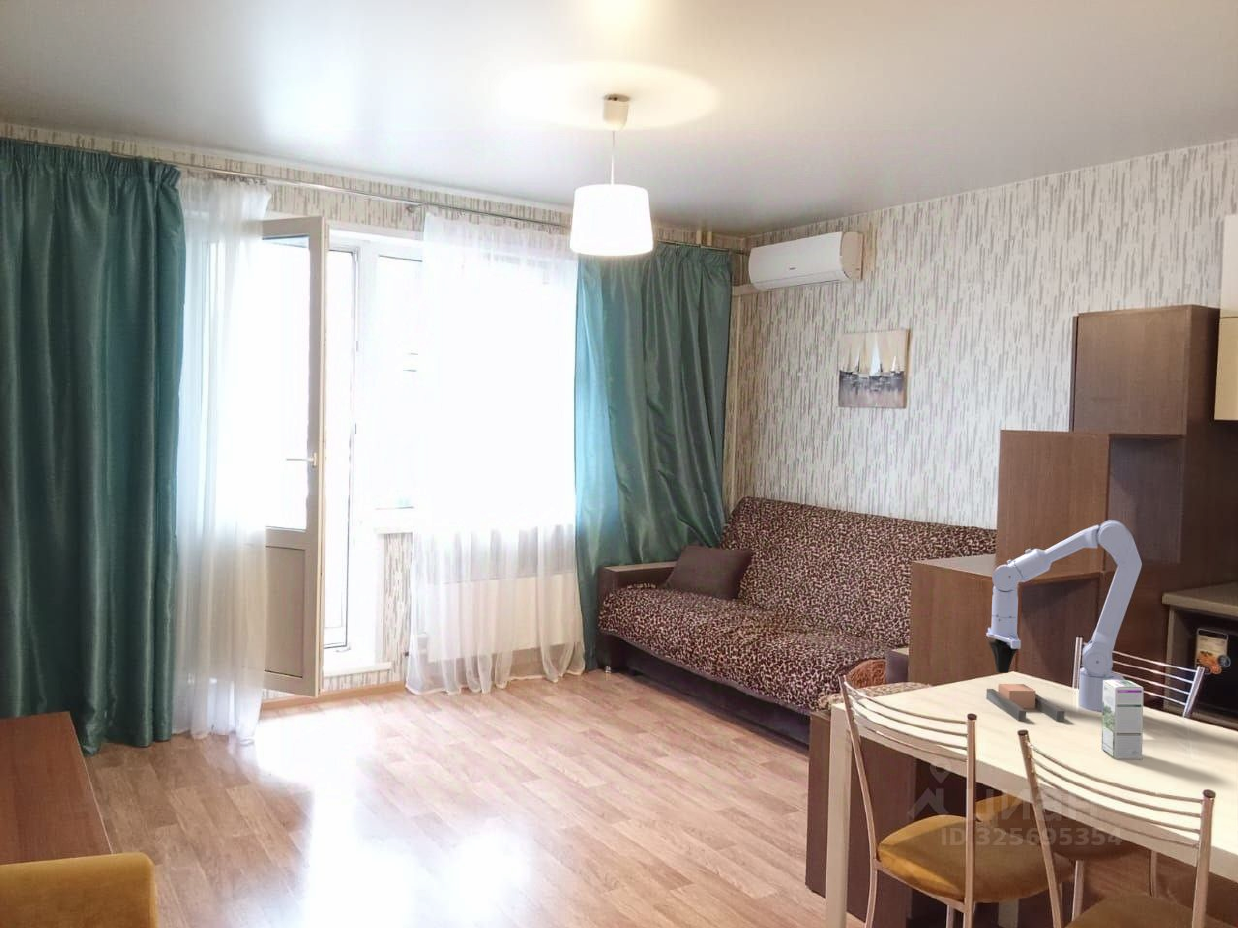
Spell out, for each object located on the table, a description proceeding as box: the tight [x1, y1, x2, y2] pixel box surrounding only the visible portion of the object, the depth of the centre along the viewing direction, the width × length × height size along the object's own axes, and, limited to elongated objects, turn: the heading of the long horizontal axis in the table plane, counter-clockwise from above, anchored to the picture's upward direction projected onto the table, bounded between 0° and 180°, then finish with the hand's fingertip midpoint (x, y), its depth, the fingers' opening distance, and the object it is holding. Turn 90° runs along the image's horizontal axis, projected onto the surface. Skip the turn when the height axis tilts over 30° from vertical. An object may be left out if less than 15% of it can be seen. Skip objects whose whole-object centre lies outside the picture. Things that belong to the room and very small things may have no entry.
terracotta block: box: [997, 683, 1036, 710], centre depth 228 cm, size 6×6×4 cm
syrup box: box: [1101, 679, 1144, 760], centre depth 197 cm, size 6×6×14 cm
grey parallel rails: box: [985, 688, 1066, 723], centre depth 224 cm, size 12×24×4 cm, turn 1°
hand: (1002, 672), depth 236 cm, fingers closed
